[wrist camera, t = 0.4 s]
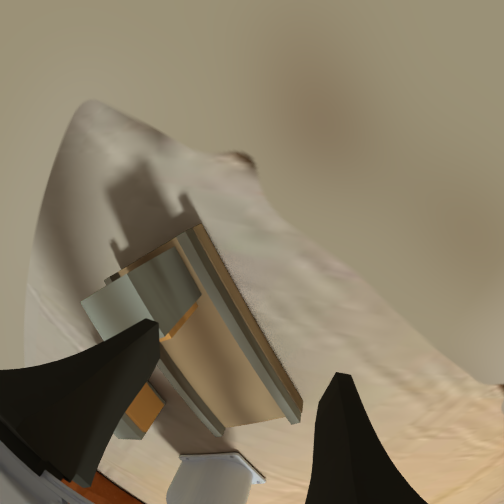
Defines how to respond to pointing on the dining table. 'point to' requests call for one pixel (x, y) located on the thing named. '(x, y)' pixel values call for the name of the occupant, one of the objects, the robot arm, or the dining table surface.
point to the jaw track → (199, 333)
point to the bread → (102, 492)
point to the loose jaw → (140, 414)
